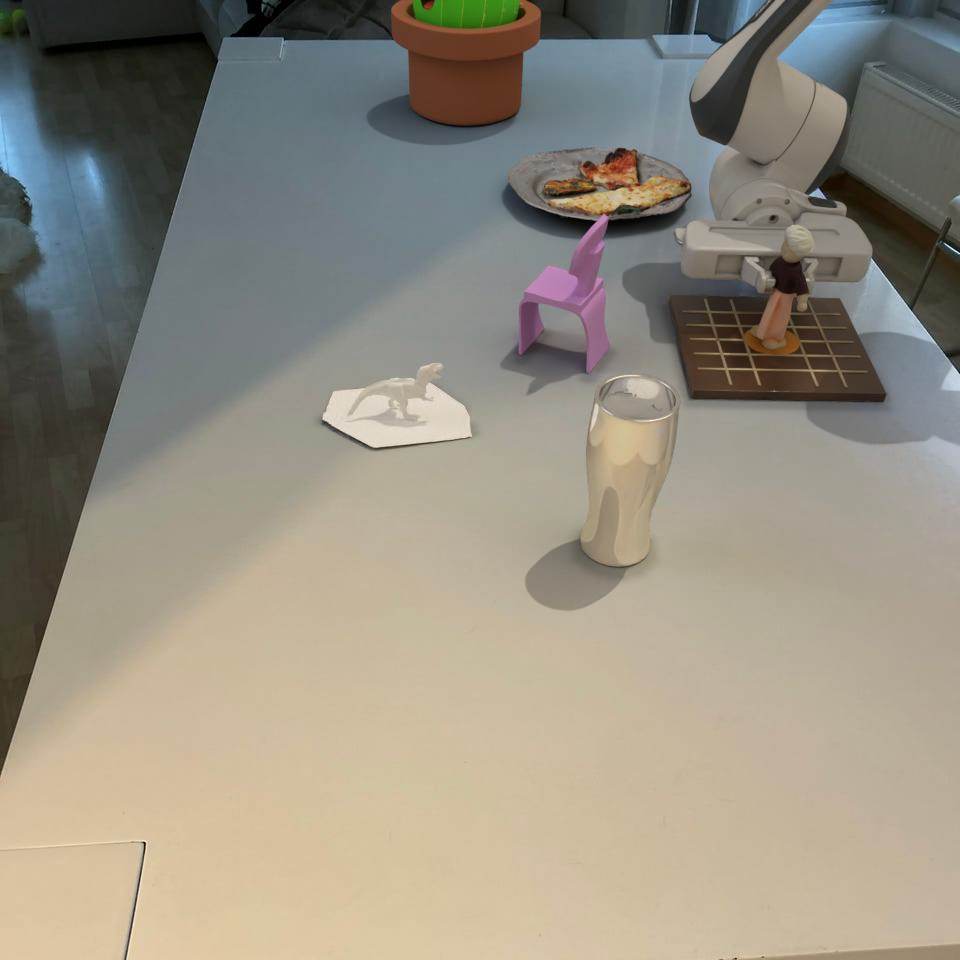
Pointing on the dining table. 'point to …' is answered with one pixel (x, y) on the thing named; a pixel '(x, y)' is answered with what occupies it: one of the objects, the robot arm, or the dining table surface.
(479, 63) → the potted cactus
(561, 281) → the toy chair
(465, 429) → the dinosaur figurine
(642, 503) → the beer glass
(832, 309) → the game board
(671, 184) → the food plate
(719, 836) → the dining table surface
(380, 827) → the dining table surface
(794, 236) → the grandmother figurine
